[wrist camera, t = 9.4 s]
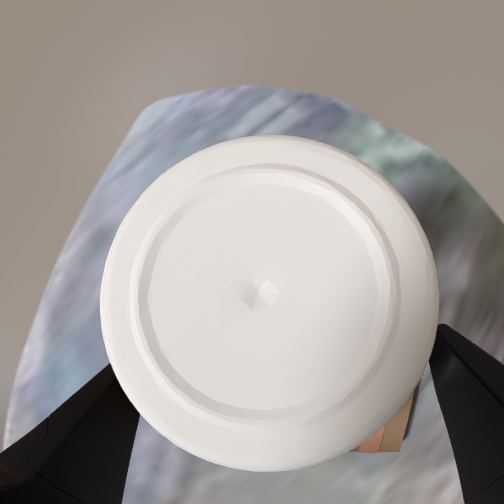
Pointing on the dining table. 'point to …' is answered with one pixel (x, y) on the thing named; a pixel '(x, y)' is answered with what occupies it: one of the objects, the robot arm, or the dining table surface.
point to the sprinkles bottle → (269, 303)
